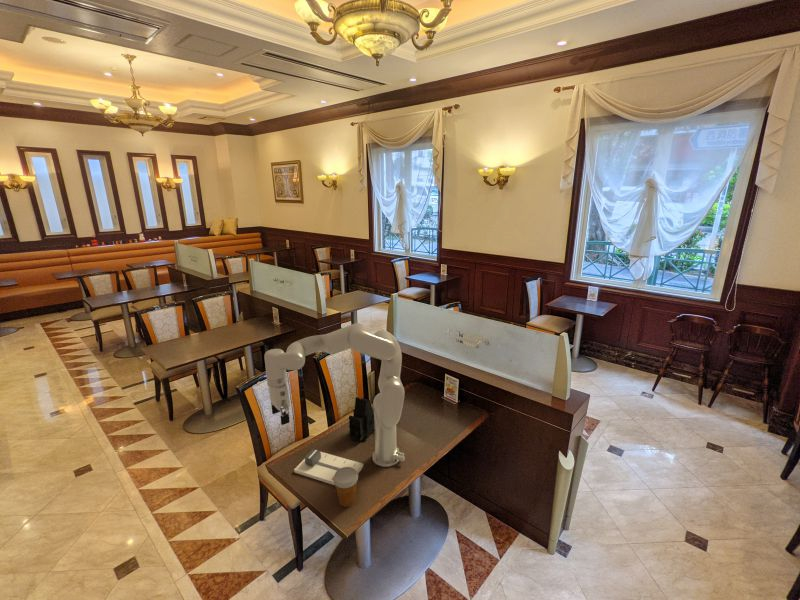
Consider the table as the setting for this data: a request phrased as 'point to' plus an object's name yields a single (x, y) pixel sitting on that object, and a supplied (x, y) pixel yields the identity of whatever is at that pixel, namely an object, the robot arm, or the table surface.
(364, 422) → the camera
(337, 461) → the fader console
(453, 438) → the table surface
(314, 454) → the fader knob
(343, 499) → the disposable coffee cup
